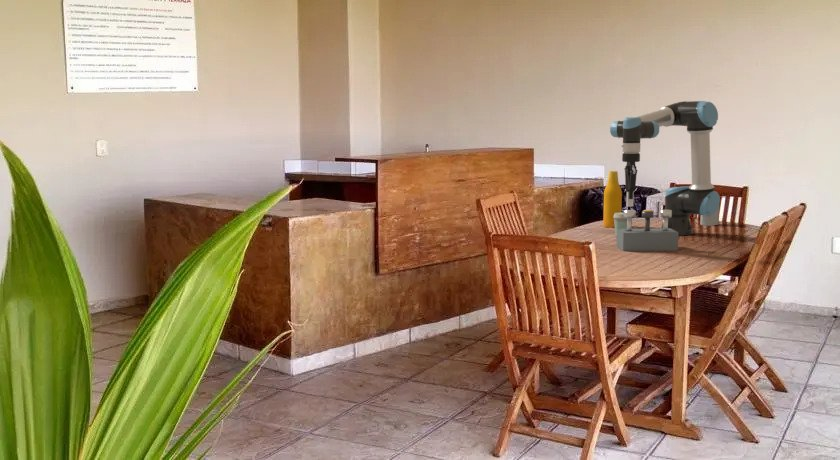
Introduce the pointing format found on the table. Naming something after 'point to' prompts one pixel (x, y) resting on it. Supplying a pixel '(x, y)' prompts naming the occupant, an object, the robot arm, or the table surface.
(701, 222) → the cup
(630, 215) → the knob
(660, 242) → the console
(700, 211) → the robot arm
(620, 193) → the beer bottle
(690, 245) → the table surface
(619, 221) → the coffee cup
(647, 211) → the pot knob
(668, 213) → the knob
